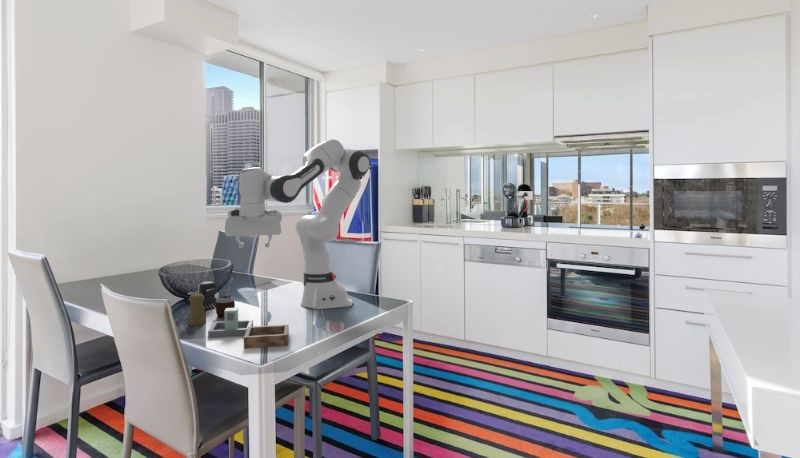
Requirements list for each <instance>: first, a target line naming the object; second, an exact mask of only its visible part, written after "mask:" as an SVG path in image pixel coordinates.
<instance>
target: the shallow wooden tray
mask: <svg viewBox="0 0 800 458" xmlns="http://www.w3.org/2000/svg"><path fill="white" fill-rule="evenodd" d="M246 328H247V327H246ZM289 329H290V328H289V324H278V325H277V324H276V325H261V326H260V325H258V326H257V325H256V326H255V325H253V327H248V328H247V330H246V333H245V335H244V336H243V349H252V348H253V349H254V348H269V347H271V348H272V347H286V346H288V344H289V335H290V333H289V331H290V330H289Z"/></svg>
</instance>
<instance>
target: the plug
mask: <svg viewBox="0 0 800 458" xmlns="http://www.w3.org/2000/svg"><path fill="white" fill-rule="evenodd" d="M224 317H225V318H224V321H225V328H224V329H240V327H239V325H238V321H239V307H235V308H226V309H225V311H224Z"/></svg>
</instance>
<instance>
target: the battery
mask: <svg viewBox="0 0 800 458" xmlns="http://www.w3.org/2000/svg"><path fill="white" fill-rule="evenodd" d="M197 294H202V295H203V296H204V301H203V307H204V311H208V310H213V309H216V307H215V303H216V300H215V299H216V298H215V297H216V296H215V295H216V294H217V285H216V283H215V282H213V281H204V282H200V283H199V284H198V285H197Z"/></svg>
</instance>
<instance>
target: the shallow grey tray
mask: <svg viewBox="0 0 800 458" xmlns="http://www.w3.org/2000/svg"><path fill="white" fill-rule="evenodd" d="M238 325H239V329H225V320H224V321H223V320H222V321H214V322H213V323H212V325H211V326H210V328H209V329H208V331H207V337H208V338H212V339H213V338H228V337H230V338H231V337H244V335H245V333H246V330H247V328H248V327H254V319H243V320H241V319H240V320H238Z"/></svg>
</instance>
